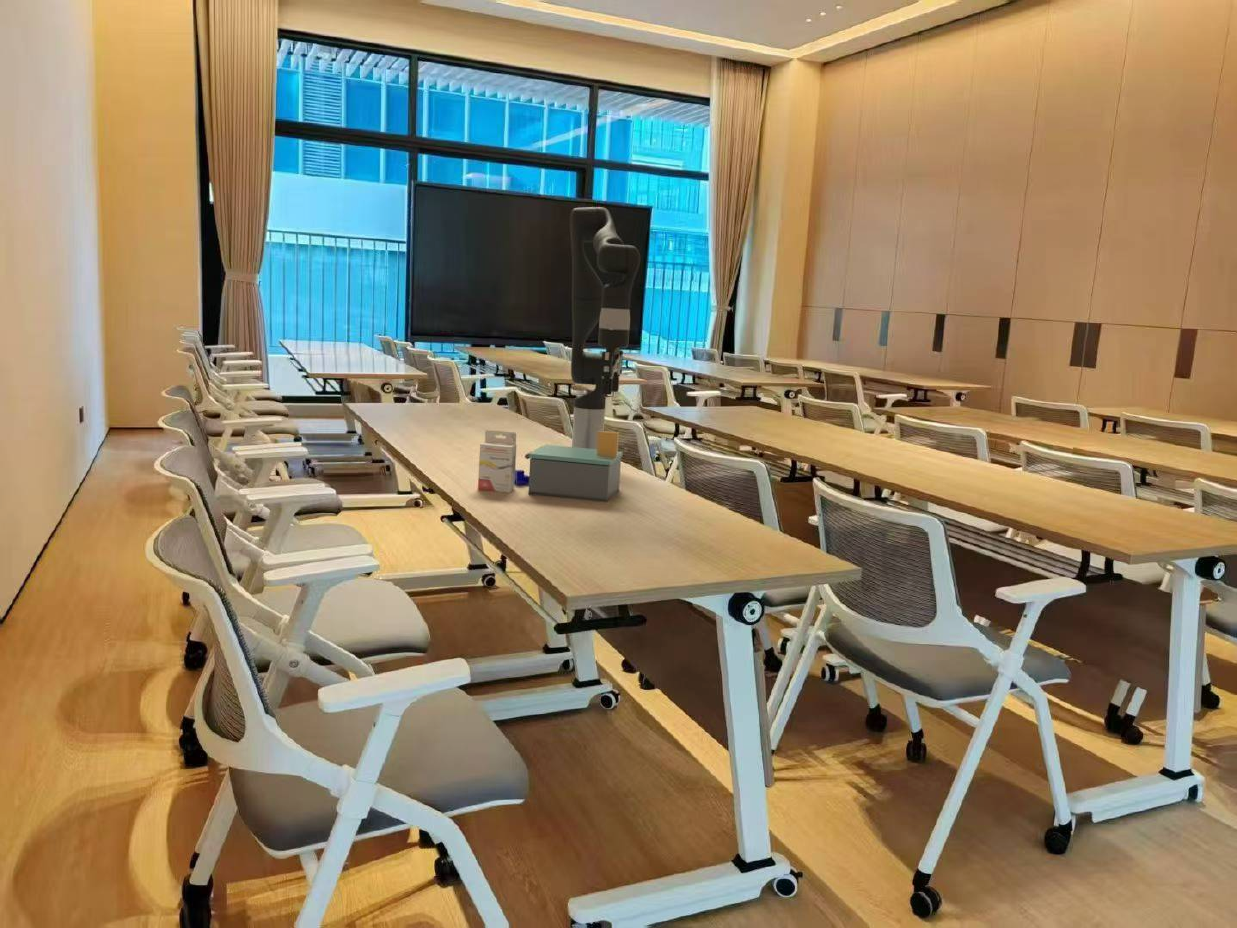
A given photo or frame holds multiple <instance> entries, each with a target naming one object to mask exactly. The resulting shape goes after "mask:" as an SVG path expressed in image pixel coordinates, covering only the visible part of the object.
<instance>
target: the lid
mask: <svg viewBox="0 0 1237 928" xmlns="http://www.w3.org/2000/svg"><path fill="white" fill-rule="evenodd" d="M619 436H620V432H618V431H617V432H616V431H605V430H604V431H598V444H597V449H587V448H577V447H572V446H566V445H565V446H562V445H556V444H555V445H552V444H545V445H542V446H540V447H538V448H537V449H533V450H532V451H530V452H528V453H526V454H525V456H524V458H525V459H526V460H530V459H531V458H537V459H547V460H558V461H568V462H579V463H589V464H600V465H611V464H613V463H614V462H615V461H616V460H618V459H619V458H620V457H621V458H622V457H623V453H624V452H623V451H619V439H620V437H619Z"/></svg>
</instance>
